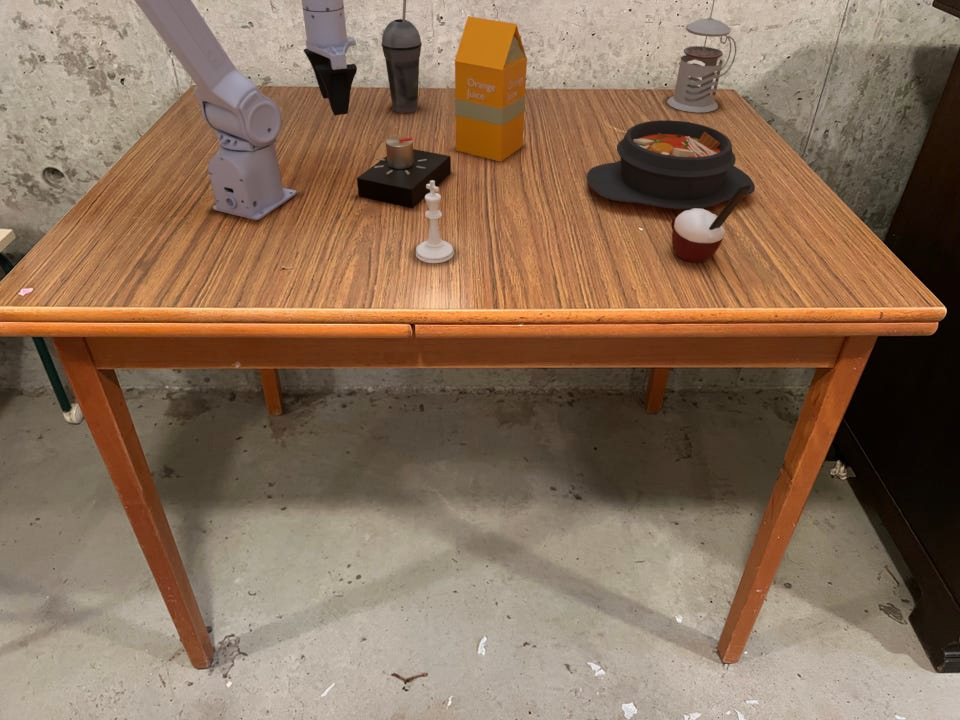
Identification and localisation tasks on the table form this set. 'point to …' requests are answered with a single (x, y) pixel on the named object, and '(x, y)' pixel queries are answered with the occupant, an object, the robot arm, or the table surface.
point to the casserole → (671, 167)
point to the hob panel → (404, 179)
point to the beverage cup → (402, 62)
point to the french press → (700, 69)
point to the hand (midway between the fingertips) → (335, 105)
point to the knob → (400, 152)
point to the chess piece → (434, 232)
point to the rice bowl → (702, 230)
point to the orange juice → (490, 89)
